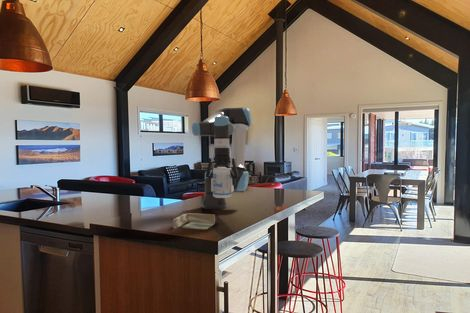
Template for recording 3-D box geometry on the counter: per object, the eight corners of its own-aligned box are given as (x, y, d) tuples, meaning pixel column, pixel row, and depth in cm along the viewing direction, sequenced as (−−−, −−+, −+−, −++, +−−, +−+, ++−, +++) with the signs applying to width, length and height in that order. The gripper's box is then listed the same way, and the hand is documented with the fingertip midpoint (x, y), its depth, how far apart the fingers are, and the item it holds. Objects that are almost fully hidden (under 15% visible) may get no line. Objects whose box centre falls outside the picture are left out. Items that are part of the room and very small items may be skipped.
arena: (186, 221, 166) (186, 213, 166) (216, 222, 162) (216, 214, 162) (172, 228, 151) (172, 219, 151) (205, 230, 147) (205, 221, 147)
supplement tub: (209, 197, 166) (209, 168, 165) (218, 194, 175) (217, 166, 174) (227, 198, 162) (226, 168, 161) (235, 195, 171) (234, 167, 170)
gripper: (198, 147, 166) (199, 191, 168) (241, 147, 161) (241, 193, 162) (203, 147, 174) (204, 189, 175) (244, 147, 168) (245, 190, 169)
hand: (222, 191), depth 168 cm, fingers closed on supplement tub, 9 cm apart
